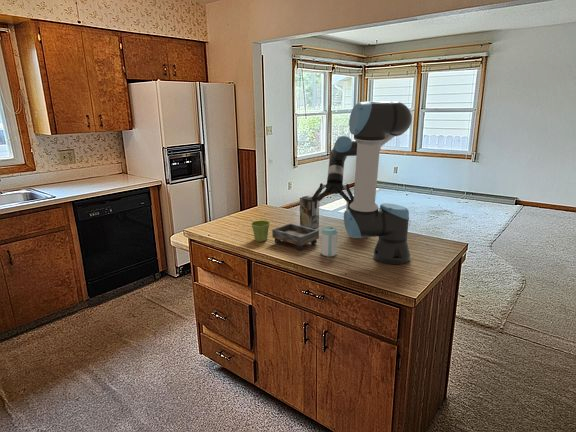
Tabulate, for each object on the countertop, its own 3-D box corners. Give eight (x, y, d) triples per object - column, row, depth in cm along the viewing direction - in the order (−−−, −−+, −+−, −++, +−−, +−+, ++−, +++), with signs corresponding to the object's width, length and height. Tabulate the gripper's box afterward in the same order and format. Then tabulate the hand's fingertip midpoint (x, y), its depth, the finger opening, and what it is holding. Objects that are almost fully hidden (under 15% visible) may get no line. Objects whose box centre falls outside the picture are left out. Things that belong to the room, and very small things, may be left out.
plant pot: (267, 243, 181) (267, 226, 179) (249, 242, 183) (248, 225, 181) (272, 237, 190) (272, 220, 188) (254, 236, 192) (253, 220, 189)
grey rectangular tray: (318, 244, 179) (318, 230, 177) (301, 252, 170) (301, 237, 168) (290, 236, 191) (290, 223, 189) (272, 243, 181) (272, 229, 179)
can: (320, 251, 170) (320, 226, 167) (336, 251, 170) (336, 226, 167) (321, 257, 164) (321, 231, 160) (337, 257, 163) (338, 231, 160)
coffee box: (319, 226, 205) (319, 198, 201) (312, 229, 201) (312, 200, 196) (306, 223, 211) (306, 195, 207) (299, 226, 207) (299, 197, 202)
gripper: (361, 181, 183) (359, 219, 174) (310, 180, 188) (305, 217, 179) (361, 172, 177) (359, 212, 167) (309, 171, 182) (304, 209, 172)
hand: (331, 214), depth 173 cm, fingers open, 13 cm apart
